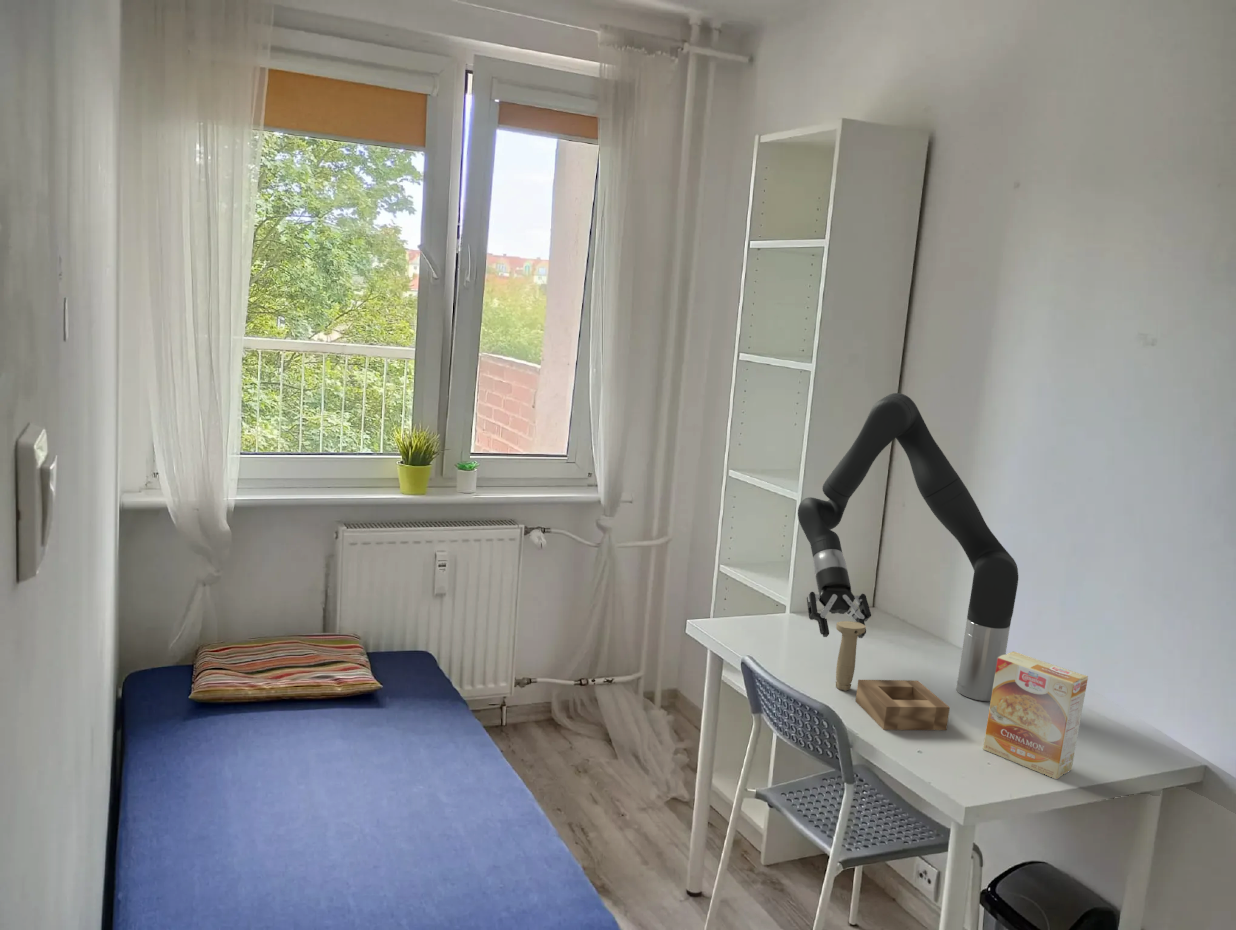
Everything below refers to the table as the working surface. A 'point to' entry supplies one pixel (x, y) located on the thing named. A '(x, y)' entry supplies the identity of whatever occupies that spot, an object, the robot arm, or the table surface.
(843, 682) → the handle
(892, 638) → the table surface
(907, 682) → the socket block
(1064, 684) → the coffeecake box
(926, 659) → the table surface
